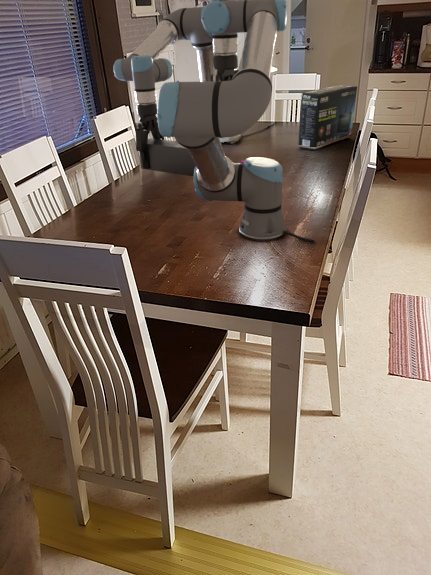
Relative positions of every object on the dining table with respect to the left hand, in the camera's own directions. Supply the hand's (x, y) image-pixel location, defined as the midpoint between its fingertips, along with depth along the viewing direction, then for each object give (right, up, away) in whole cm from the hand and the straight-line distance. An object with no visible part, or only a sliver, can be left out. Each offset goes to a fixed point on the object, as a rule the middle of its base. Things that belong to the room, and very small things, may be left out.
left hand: (153, 165), depth 178 cm
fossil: (+31, +35, +78) cm, 91 cm away
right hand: (+28, +4, -31) cm, 42 cm away
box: (+10, -3, -5) cm, 11 cm away
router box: (+83, +30, +66) cm, 110 cm away
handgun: (+42, +7, +32) cm, 53 cm away
